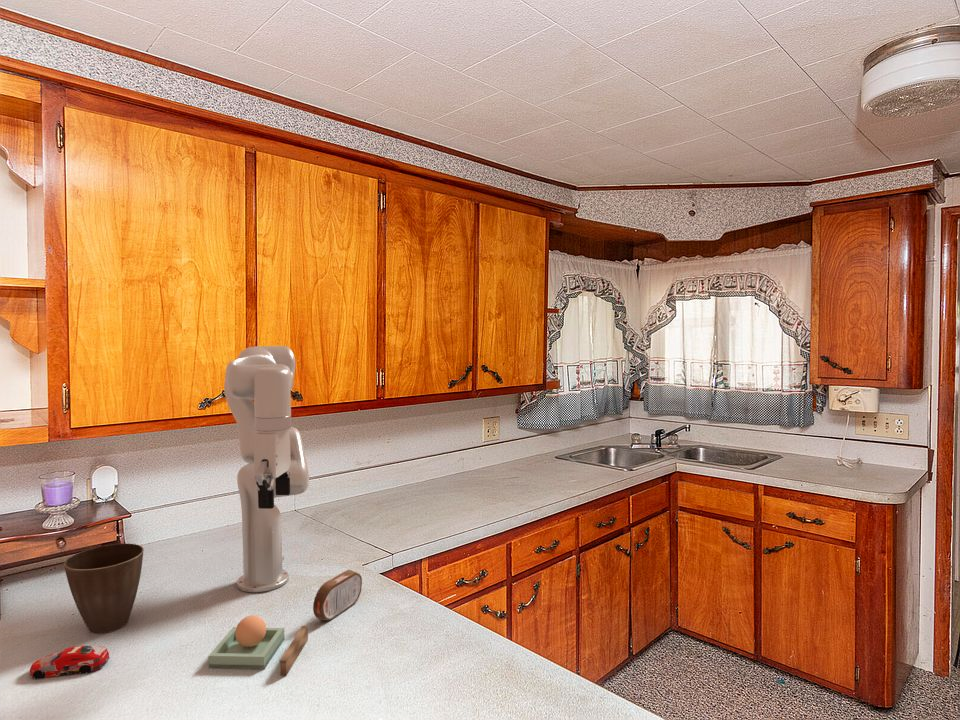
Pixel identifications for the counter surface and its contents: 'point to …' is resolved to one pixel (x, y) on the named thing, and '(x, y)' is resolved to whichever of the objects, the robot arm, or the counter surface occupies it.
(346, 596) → the tin
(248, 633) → the ball
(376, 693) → the counter surface
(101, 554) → the plant pot
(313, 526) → the counter surface
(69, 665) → the race car
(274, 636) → the tray
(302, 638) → the rail
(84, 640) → the counter surface
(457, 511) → the counter surface
